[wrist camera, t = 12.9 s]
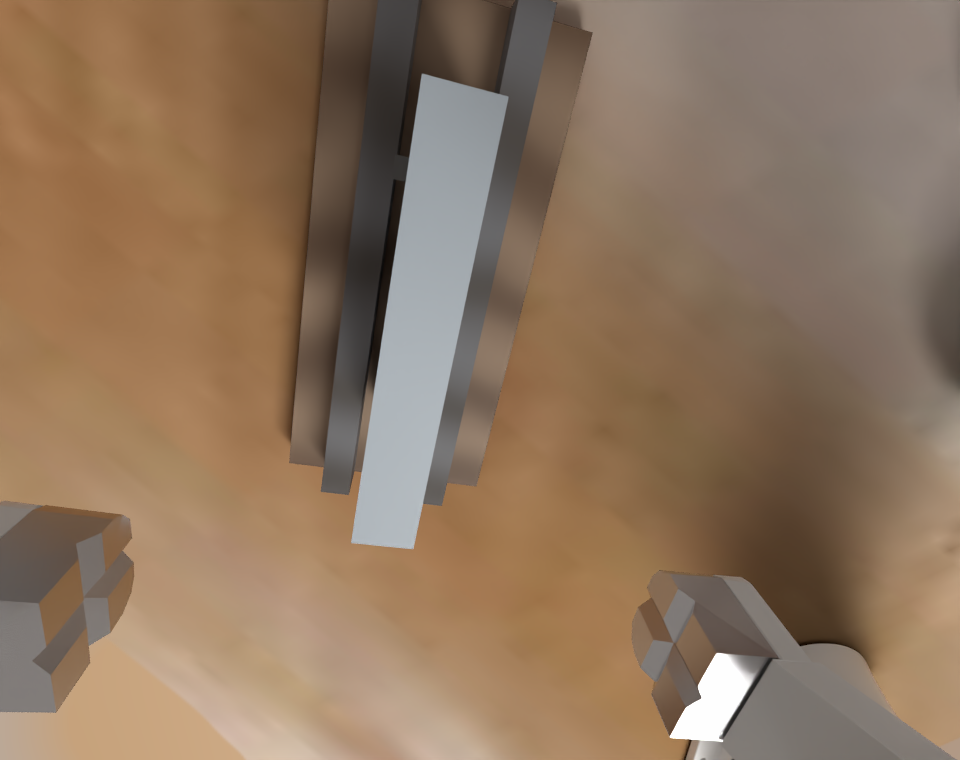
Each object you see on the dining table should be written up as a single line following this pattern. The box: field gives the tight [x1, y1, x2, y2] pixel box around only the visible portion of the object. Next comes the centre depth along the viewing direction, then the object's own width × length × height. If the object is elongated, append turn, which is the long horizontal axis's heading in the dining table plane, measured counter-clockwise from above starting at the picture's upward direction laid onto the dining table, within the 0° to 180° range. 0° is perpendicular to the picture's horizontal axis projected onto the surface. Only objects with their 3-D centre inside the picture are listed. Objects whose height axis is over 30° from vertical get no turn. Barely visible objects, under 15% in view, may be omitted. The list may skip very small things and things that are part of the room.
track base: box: [289, 0, 592, 506], centre depth 27 cm, size 26×12×4 cm, turn 168°
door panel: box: [351, 74, 509, 549], centre depth 22 cm, size 16×3×12 cm, turn 168°
